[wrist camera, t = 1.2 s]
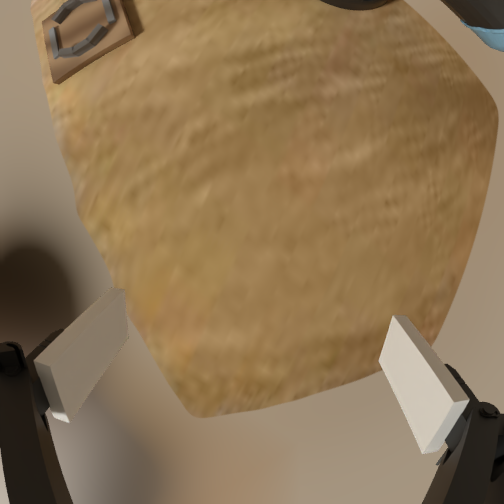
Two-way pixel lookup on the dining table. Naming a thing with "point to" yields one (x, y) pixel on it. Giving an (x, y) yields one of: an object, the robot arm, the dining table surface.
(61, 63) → the socket board
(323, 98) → the dining table surface
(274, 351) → the dining table surface
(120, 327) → the robot arm
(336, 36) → the dining table surface
